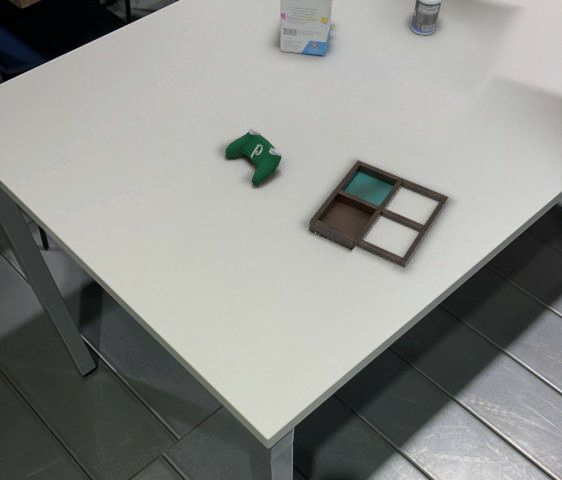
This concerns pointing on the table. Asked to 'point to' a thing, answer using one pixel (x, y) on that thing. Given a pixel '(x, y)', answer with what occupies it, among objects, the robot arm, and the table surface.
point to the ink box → (305, 26)
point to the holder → (369, 210)
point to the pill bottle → (425, 16)
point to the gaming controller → (256, 154)
